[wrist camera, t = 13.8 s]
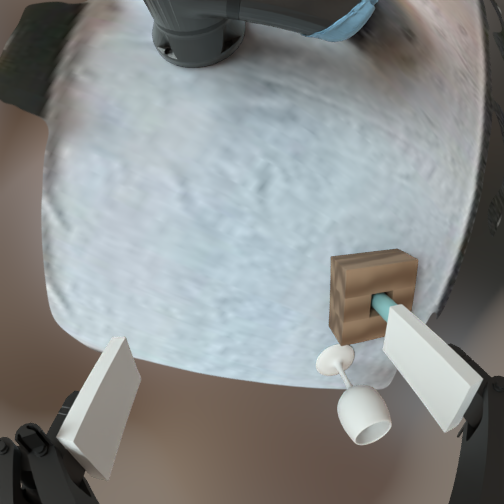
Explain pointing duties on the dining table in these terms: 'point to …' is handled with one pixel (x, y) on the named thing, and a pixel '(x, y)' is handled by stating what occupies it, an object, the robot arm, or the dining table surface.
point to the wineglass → (355, 398)
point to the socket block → (368, 291)
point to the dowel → (382, 304)
